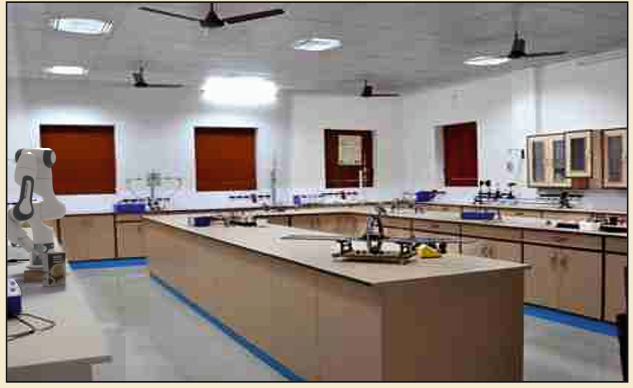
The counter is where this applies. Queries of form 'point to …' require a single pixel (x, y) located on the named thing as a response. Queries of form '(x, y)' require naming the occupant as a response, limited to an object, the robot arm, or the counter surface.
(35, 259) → the grey upright block
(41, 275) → the brown wooden block
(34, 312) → the counter surface
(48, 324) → the counter surface
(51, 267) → the coffee box
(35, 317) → the counter surface
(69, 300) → the counter surface
